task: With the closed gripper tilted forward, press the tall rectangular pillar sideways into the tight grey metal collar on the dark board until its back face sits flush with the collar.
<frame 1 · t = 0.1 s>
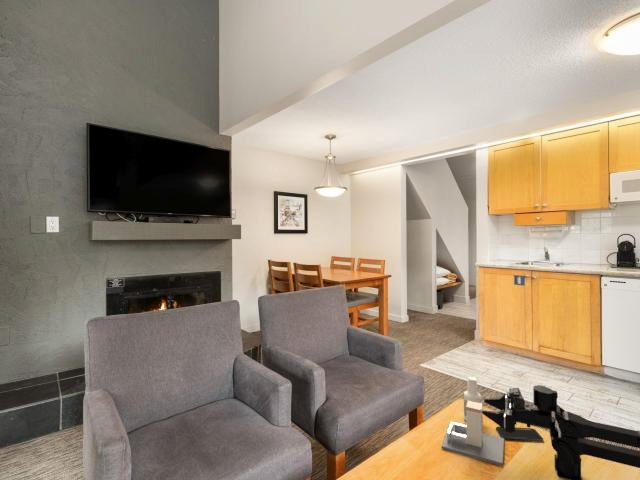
hand: (483, 406, 125), 17 cm above the table, tool horizontal, fingers open, 9 cm apart
tall rectangular pillar: (474, 423, 128), point 8 cm above the table, slide at 0.0 cm
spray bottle: (472, 420, 145), on the table
base board: (473, 444, 129), on the table
phone: (518, 436, 134), on the table
friction collar: (460, 441, 131), resting on base board
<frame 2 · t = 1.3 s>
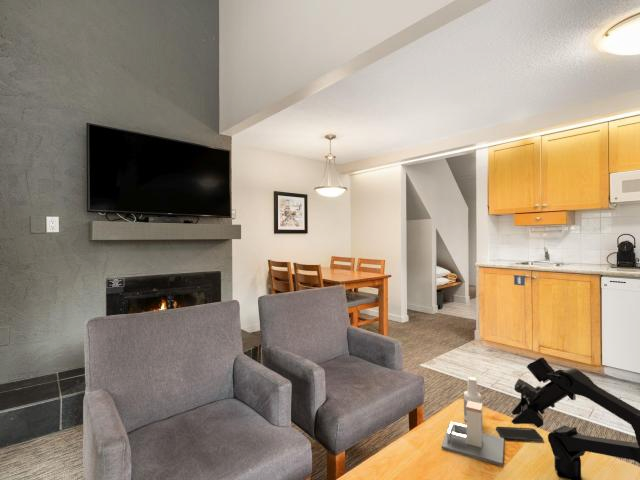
hand: (512, 418, 122), 14 cm above the table, tool tilted 45°, fingers open, 6 cm apart
nothing on the table moved.
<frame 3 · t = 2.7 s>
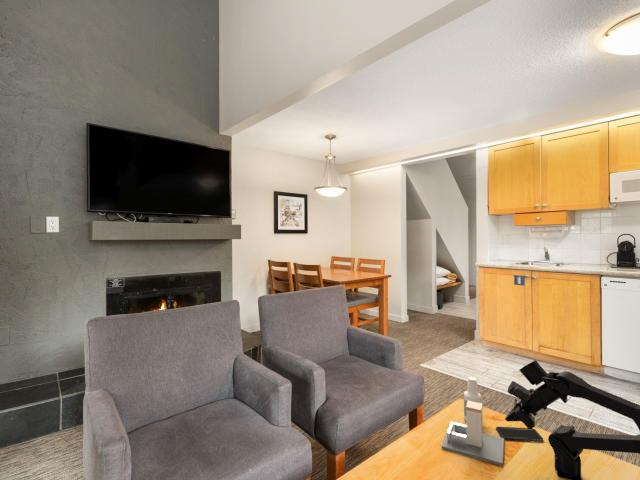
hand: (506, 419, 123), 12 cm above the table, tool tilted 45°, fingers closed
nothing on the table moved.
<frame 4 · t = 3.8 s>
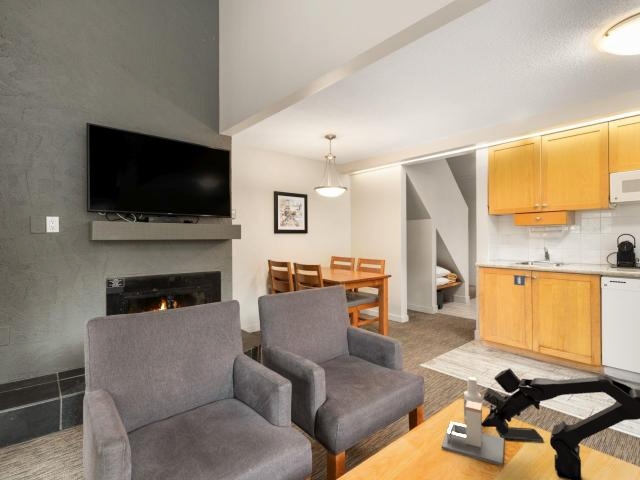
hand: (482, 425, 127), 8 cm above the table, tool tilted 45°, fingers closed, pressing on tall rectangular pillar
tall rectangular pillar: (474, 423, 128), point 8 cm above the table, slide at 0.2 cm, touching gripper
everything else where it was.
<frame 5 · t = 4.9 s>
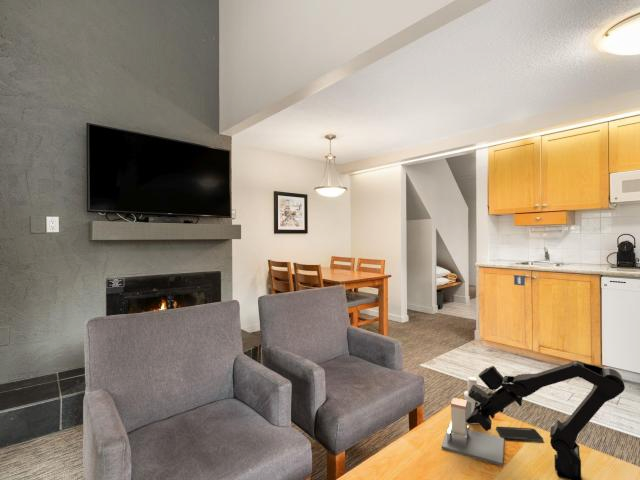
hand: (467, 421, 130), 8 cm above the table, tool tilted 45°, fingers closed, pressing on tall rectangular pillar
tall rectangular pillar: (459, 419, 131), point 8 cm above the table, slide at 5.4 cm, touching gripper
everything else where it was.
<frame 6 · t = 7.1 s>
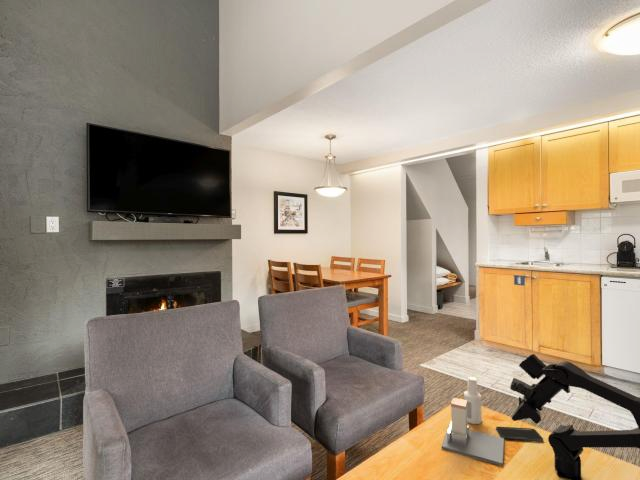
hand: (512, 419, 121), 14 cm above the table, tool tilted 40°, fingers closed
tall rectangular pillar: (459, 419, 131), point 8 cm above the table, slide at 5.3 cm
everything else where it was.
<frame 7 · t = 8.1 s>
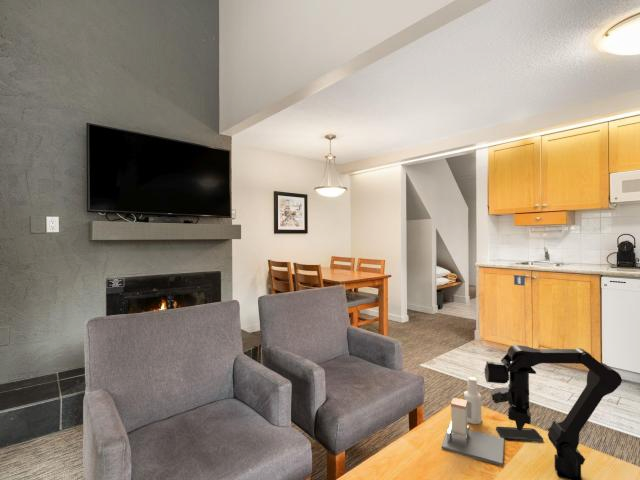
hand: (519, 429, 116), 13 cm above the table, tool pointing down, fingers closed
nothing on the table moved.
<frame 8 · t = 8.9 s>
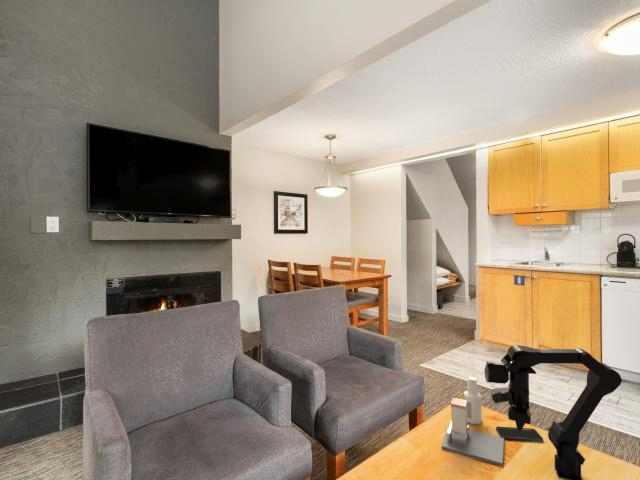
hand: (519, 429, 116), 13 cm above the table, tool pointing down, fingers closed
nothing on the table moved.
at the end: tall rectangular pillar slide at 5.3 cm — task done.
